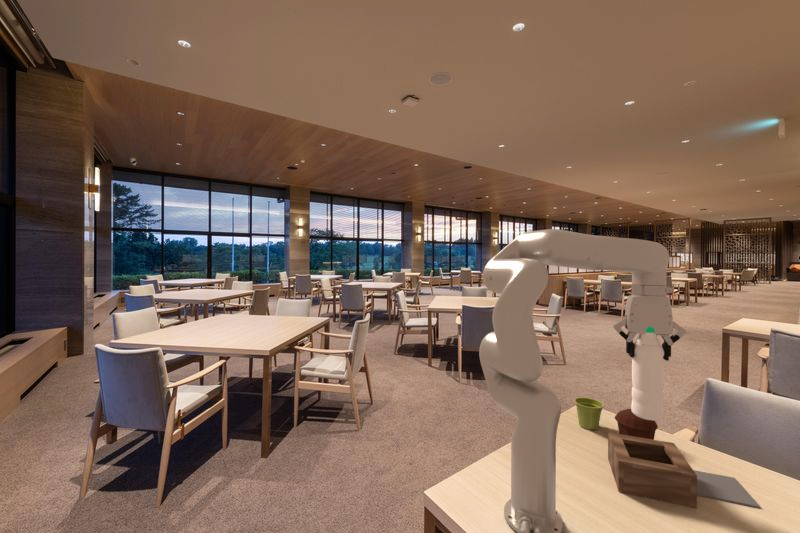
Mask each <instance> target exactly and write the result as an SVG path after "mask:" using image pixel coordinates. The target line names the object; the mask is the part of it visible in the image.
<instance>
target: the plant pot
mask: <svg viewBox="0 0 800 533" xmlns="http://www.w3.org/2000/svg"><path fill="white" fill-rule="evenodd" d="M573 401H574V403H575V407H576V411H577V412H576V413H577V419H578V425H579V426H580V427H582V428H583V429H585V430H593V431H594V430H595V431H596V430H598V429H599V425H600V420H601V414H602V410H603V408H604V407H605V404H604V403H603V402H601V400H597V399H594V398H591V397H585V396H584V397H583V396H582V397H579V396H578V397H575V398H574V399H573Z"/></svg>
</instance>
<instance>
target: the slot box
mask: <svg viewBox="0 0 800 533" xmlns="http://www.w3.org/2000/svg"><path fill="white" fill-rule="evenodd" d="M607 444H608V445H607V459H608V460H607V461H608V463H609V466H610V469H611V472H612V476H613V479H614V482H615V485H616V488H617V491H618V492H619V493H622V494H623V493H624V494H629V495H631V496H632V495H633V496H637V497H642V498H647V499H651V500H655V501H660V502H664V503H668V504H669V503H670V504H673V505H678V506H682V507H687V508H691V509H696V510H697V509H698V507H697V506H698V495H697V475H696V473H695V472H694V471H693V470H694V469H693V468H692V466H691V465H690V464H689V462H688V461H687V459H686V458H685V457H684V455H683V454H682V452H681V451H680V449H679V448H678V447H677V445H676V444H675V443H674V442H671V441H670V442H669V441H665V440H664V441H663V440H658V439H654V440H652V439H646V438H640V437H634V436H628V435H622V434H619V433H615V432H610V431H608V432H607Z"/></svg>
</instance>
